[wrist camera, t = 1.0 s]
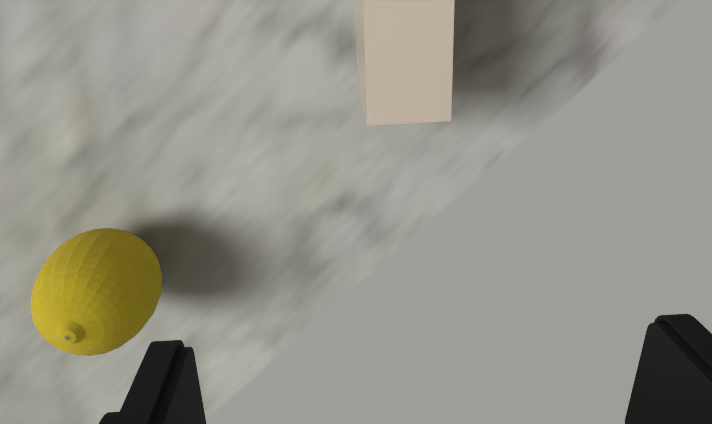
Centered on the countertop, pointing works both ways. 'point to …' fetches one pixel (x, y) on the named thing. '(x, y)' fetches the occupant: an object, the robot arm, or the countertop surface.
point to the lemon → (96, 291)
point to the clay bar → (405, 60)
